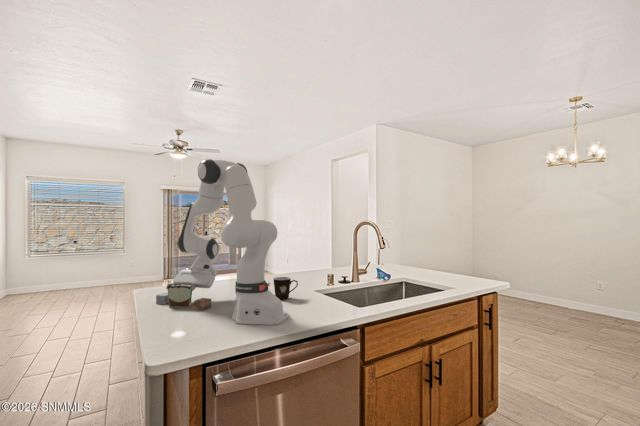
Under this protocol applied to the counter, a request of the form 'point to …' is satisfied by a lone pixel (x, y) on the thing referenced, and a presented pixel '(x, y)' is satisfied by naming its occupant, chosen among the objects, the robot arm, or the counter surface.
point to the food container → (180, 294)
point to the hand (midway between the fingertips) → (185, 293)
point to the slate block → (162, 298)
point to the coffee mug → (283, 287)
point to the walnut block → (202, 304)
